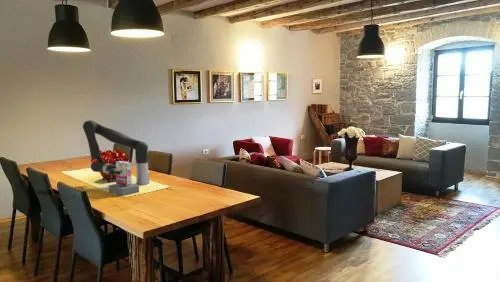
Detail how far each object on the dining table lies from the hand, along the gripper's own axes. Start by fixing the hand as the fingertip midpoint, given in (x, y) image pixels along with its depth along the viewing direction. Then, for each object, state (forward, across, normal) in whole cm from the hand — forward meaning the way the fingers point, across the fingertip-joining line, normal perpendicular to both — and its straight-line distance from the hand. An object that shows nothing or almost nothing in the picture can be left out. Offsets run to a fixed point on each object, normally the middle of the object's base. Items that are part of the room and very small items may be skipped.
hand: (123, 172), depth 283 cm
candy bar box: (0, 0, +9) cm, 9 cm away
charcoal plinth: (0, 0, +15) cm, 15 cm away
